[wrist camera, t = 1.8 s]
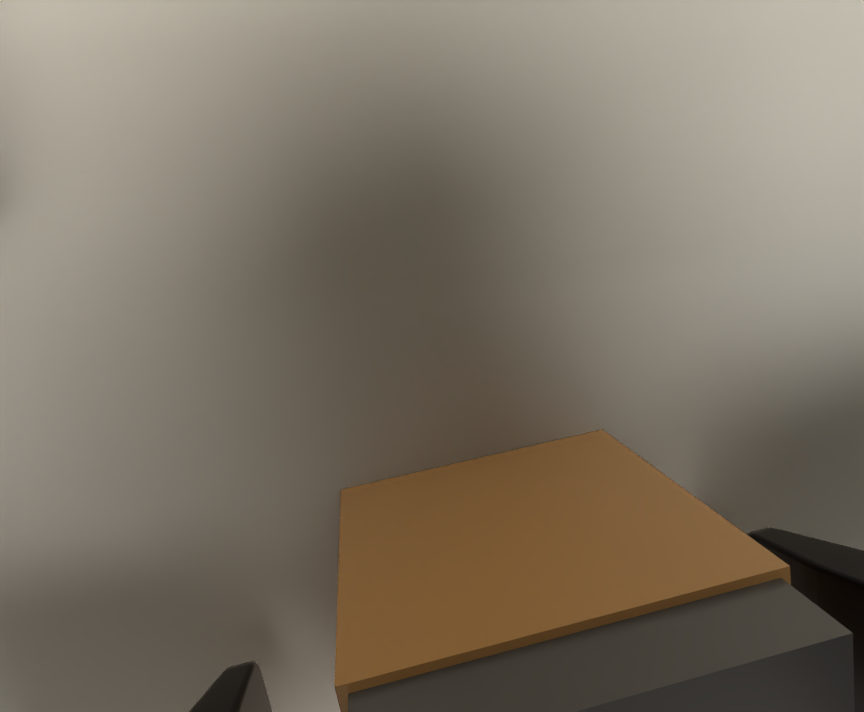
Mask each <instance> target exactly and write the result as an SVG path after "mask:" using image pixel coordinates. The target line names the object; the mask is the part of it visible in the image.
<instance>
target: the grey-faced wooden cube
mask: <svg viewBox="0 0 864 712" xmlns="http://www.w3.org/2000/svg"><path fill="white" fill-rule="evenodd" d="M335 691H336V694H337V698H338V702H339V706H340V710H341V712H855V705H854V661H853V633H852V632H851V631H850V630H848V629H847V628H846V627H844V626H843V625H842V624H840V623H839V622H838V621H837V620H835V619H834V618H833V617H831V616H830V615H829V614H827V613H826V612H825V611H824V610H822V609H821V608H820V607H818V606H817V605H816V604H814V603H813V602H812V601H811V600H809V599H808V598H807V597H805V596H804V595H803V594H801V593H800V592H799V591H798V590H796V589H795V588H794V587H792V586H791V576H790V566H789V565H788V564H787V563H785V562H784V561H782V560H781V559H780V558H778V557H777V556H776V555H774V554H773V553H771V552H770V551H769V550H767V549H766V548H765V547H763V546H762V545H760V544H759V543H758V542H756V541H755V540H754V539H752V538H751V537H749V536H748V535H747V534H745V533H744V532H743V531H741V530H740V529H738V528H737V527H736V526H734V525H733V524H732V523H730V522H729V521H727V520H726V519H725V518H723V517H722V516H721V515H719V514H718V513H716V512H715V511H714V510H712V509H711V508H710V507H708V506H707V505H705V504H704V503H703V502H701V501H700V500H699V499H697V498H696V497H694V496H693V495H692V494H690V493H689V492H688V491H686V490H685V489H683V488H682V487H681V486H679V485H678V484H677V483H675V482H674V481H672V480H671V479H670V478H668V477H667V476H666V475H664V474H663V473H661V472H660V471H659V470H657V469H656V468H655V467H653V466H652V465H651V464H649V463H648V462H646V461H645V460H644V459H642V458H641V457H640V456H638V455H637V454H635V453H634V452H633V451H631V450H630V449H629V448H627V447H626V446H624V445H623V444H622V443H620V442H619V441H618V440H616V439H615V438H613V437H612V436H611V435H609V434H608V433H607V432H605V431H604V430H598V431H593V432H589V433H584V434H580V435H576V436H571V437H567V438H563V439H558V440H554V441H550V442H545V443H541V444H537V445H532V446H528V447H524V448H519V449H515V450H511V451H506V452H502V453H498V454H493V455H489V456H485V457H480V458H476V459H472V460H467V461H463V462H459V463H454V464H450V465H445V466H441V467H437V468H432V469H428V470H424V471H419V472H415V473H411V474H406V475H402V476H398V477H393V478H389V479H385V480H380V481H376V482H372V483H367V484H363V485H359V486H354V487H350V488H346V489H341V501H340V533H339V564H338V596H337V627H336V658H335Z"/></svg>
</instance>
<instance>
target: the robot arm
mask: <svg viewBox="0 0 864 712" xmlns="http://www.w3.org/2000/svg"><path fill="white" fill-rule="evenodd" d="M747 535H748V536H749V537H751V538H752V539H754V540H755V541H756V542H758V543H759V544H760V545H762V546H763V547H765V548H766V549H767V550H769V551H770V552H771V553H773V554H774V555H776V556H777V557H778V558H780V559H781V560H782V561H784V562H785V563H787V564H788V565H789V566H790V576H791V586H792V587H794V588H795V589H796V590H798V591H799V592H800V593H801V594H803V595H804V596H805V597H807V598H808V599H809V600H811V601H812V602H813V603H814V604H816V605H817V606H818V607H820V608H821V609H822V610H824V611H825V612H826V613H827V614H829V615H830V616H831V617H833V618H834V619H835V620H837V621H838V622H839V623H840V624H842V625H843V626H844V627H846V628H847V629H848V630H850V631H851V632H852V633H853V661H854V705H855V712H864V551H863V550H859V549H855V548H851V547H847V546H843V545H839V544H835V543H831V542H827V541H823V540H819V539H815V538H811V537H807V536H803V535H799V534H795V533H791V532H787V531H783V530H779V529H775V528H765V529H761V530H757V531H753V532H749V533H747ZM189 712H272V709H271V705H270V702H269V698H268V695H267V691H266V688H265V684H264V681H263V677H262V674H261V670H260V668H259V666H258V664H257V663H256V662H254V661H251V662H247V663H243V664H239V665H235V666H231V667H229V668H227V669H226V670H225V671H224V672H223V673H222V674H221V675H220V676H219V678H218V679H217V680H216V681H215V682H214V683H213V685H212V686H211V687H210V688H209V689H208V690H207V692H206V693H205V694H204V695H203V696H202V697H201V699H200V700H199V701H198V702H197V703H196V704H195V705H194V707H193V708H192V709H191V710H190V711H189Z"/></svg>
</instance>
